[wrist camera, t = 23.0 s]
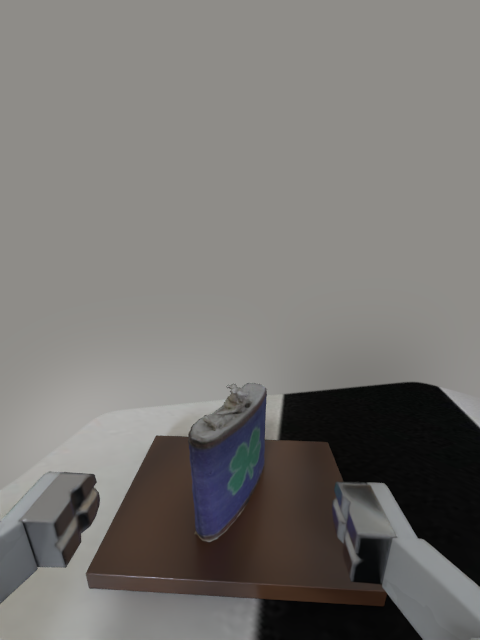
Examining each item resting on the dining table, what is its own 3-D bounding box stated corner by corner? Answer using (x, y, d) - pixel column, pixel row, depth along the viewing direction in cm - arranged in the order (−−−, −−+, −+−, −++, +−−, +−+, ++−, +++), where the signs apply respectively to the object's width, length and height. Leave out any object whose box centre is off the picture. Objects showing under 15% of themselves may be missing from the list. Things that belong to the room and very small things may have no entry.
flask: (248, 452, 27) (250, 361, 24) (272, 465, 25) (278, 370, 22) (186, 529, 19) (178, 411, 16) (215, 554, 18) (212, 429, 15)
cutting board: (326, 452, 29) (327, 441, 28) (384, 607, 16) (388, 591, 16) (157, 445, 30) (155, 435, 29) (88, 588, 17) (85, 573, 17)
